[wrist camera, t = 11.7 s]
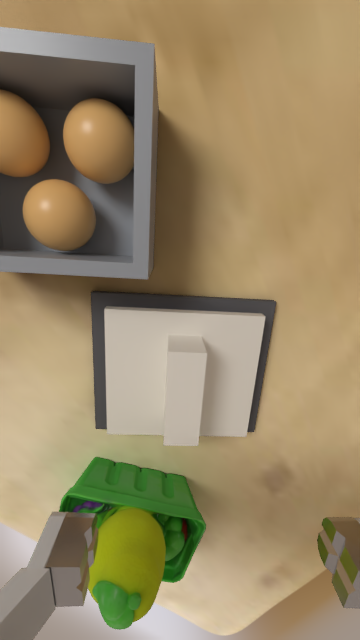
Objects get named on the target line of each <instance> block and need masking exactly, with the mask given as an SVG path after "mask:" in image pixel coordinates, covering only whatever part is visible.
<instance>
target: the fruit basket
mask: <svg viewBox="0 0 360 640" xmlns="http://www.w3.org/2000/svg"><path fill="white" fill-rule="evenodd" d="M59 512H75V513H97V517H98V521H97V525H96V527H97V528H98V545H97V551H96V556H95V560H94V563H93V564H92V566H91V567H90V568H89V574H90V581H89V585H88V589H89V591H90V593H91V596H92V597H93V599H94V600H95V601H96V602H97V603H98V605H99V609H100V611H101V614H102V617H103V618H104V620H105V622H106V623H107V625H109V626H110V627H112V628H114V629H125V628H128V627H129V626H131V624H132V622H135V621H137V620H139V619H140V618H142V617H143V616H144V615H145V614H147V612H148V611H149V610H150V608H151V606H152V605H153V603H154V600H155V598H156V595H157V592H158V590H159V586H160V584H161V581H165V582H171V583H174V582H177V581H180V580H181V579H182V578H183V576H184V574H185V572H186V570H187V568H188V565H189V563H190V561H191V559H192V556H193V554H194V552H195V550H196V548H197V546H198V544H199V542H200V540H201V538H202V536H203V533H204V532H205V529H206V524H205V522H204V520H203V518H202V516H201V514H200V512H199V511H198V509H197V507H196V504H195V502H194V499H193V497H192V494H191V491H190V489H189V486H188V484H187V481H186V479H185V477H184V476H180V475H175V474H166V475H165V473H163V472H161V471H157V470H153V469H148V468H142V469H140V468H139V467H137V466H135V465H130V464H126V463H122V462H121V463H114V462H113V461H111V460H108V459H103V458H99V457H95V458H94V459H93V460H92V462H91V463H90V464H89V466H88V467H87V469H86V470H85V471H84V473H83V474H82V475H81V477H80V478H79V480H78V481H77V482H76V484H75V485H74V486H73V487H72V488H70V489H69V490H68V492H67V493H66V494H65V495H64V497H63V498H62V501H61V505H60V510H59Z"/></svg>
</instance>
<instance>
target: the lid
mask: <svg viewBox="0 0 360 640" xmlns="http://www.w3.org/2000/svg"><path fill="white" fill-rule="evenodd" d="M265 317H266V316H264V315H263V314H261V313H240V312H219V311H198V310H177V309H156V308H135V307H114V306H106V308H105V309H104V320H105V366H106V411H107V434H124V435H164V444H163V445H169V446H198V442H199V436H232V437H246V436H247V430H248V423H249V417H250V411H251V405H252V398H253V392H254V386H255V380H256V373H257V367H258V361H259V355H260V348H261V342H262V336H263V330H264V323H265Z"/></svg>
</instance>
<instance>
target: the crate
mask: <svg viewBox="0 0 360 640" xmlns="http://www.w3.org/2000/svg"><path fill="white" fill-rule="evenodd" d="M158 114H159V106H158V91H157V76H156V61H155V46H154V44H152V43H142V42H133V41H124V40H115V39H106V38H96V37H87V36H78V35H69V34H60V33H51V32H41V31H32V30H23V29H14V28H5V27H0V271H3V272H21V273H39V274H57V275H75V276H94V277H112V278H130V279H148V278H149V276H150V274H151V272H152V270H153V268H154V237H155V206H156V176H157V145H158Z"/></svg>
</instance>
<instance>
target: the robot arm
mask: <svg viewBox="0 0 360 640" xmlns="http://www.w3.org/2000/svg"><path fill="white" fill-rule="evenodd" d="M97 521H98V517H97V513H75V512H52V514H51V515H50V517H49V518H48V521H47V523H46V525H45V527H44V530H43V532H42V534H41V536H40V539H39V541H38V543H37V546H36V548H35V550H34V552H33V555H32V557H31V559H30V561H29V564H28V566H27V568H21V569H20V570H19V572H17V573H16V574H15V575H14V576H13V577H12V578H11V579H10V580H9V581H8V582H7V583H6V584H5V585H4V586H3V587H2V588H1V589H0V640H33V639H34V638H35V636H36V635H37V634H38V632H39V631H40V630H41V628H42V627H43V625H44V624H45V623H46V621H47V620H48V618H49V617H50V616H51V614H52V613H53V612H54V610H55V607H62V606H83V605H84V601H85V596H86V593H87V589H88V585H89V581H90V574H89V568H90V567H91V566H92V564H93V563H94V560H95V556H96V551H97V545H98V528H97V527H96V525H97ZM322 526H323V528H324V529H323V530H322V531H321V532H320V533H319V535H318V539H317V541H318V550H319V553H320V556H321V559H322V561H323V563H324V566H325V567H326V568H327V569H328V570H329V571H330V572H331V573H332V574H333V576H332V583H333V586H334V588H335V590H336V592H337V594H338V597H339V599H340V601H341V603H342V605H343V607H344V608H360V518H352V517H326V518H325V519H323V522H322Z"/></svg>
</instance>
